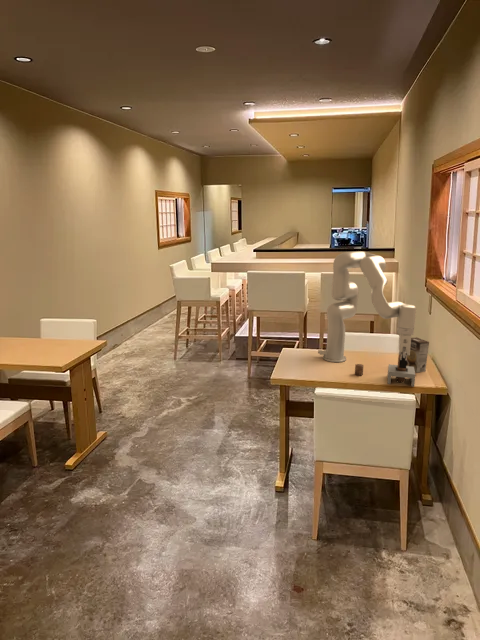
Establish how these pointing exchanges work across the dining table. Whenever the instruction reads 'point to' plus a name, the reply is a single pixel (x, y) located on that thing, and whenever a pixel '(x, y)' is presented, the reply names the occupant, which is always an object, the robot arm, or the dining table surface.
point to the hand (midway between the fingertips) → (402, 364)
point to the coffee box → (418, 354)
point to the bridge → (401, 373)
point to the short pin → (359, 369)
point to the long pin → (400, 379)
